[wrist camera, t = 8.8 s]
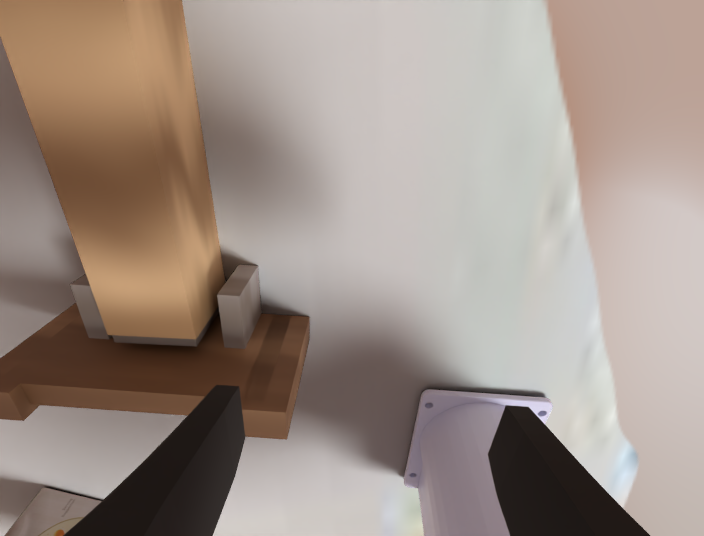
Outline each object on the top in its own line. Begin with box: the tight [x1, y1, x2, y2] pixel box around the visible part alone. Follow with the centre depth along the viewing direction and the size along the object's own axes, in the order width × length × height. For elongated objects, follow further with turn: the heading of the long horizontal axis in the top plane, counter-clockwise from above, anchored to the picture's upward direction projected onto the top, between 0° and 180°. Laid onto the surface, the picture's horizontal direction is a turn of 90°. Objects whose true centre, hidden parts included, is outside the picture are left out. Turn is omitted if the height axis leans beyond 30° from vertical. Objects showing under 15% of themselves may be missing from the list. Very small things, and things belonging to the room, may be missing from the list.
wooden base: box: [0, 265, 309, 439], centre depth 16 cm, size 5×13×6 cm, turn 87°
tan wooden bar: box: [0, 0, 225, 346], centre depth 14 cm, size 14×4×4 cm, turn 178°
